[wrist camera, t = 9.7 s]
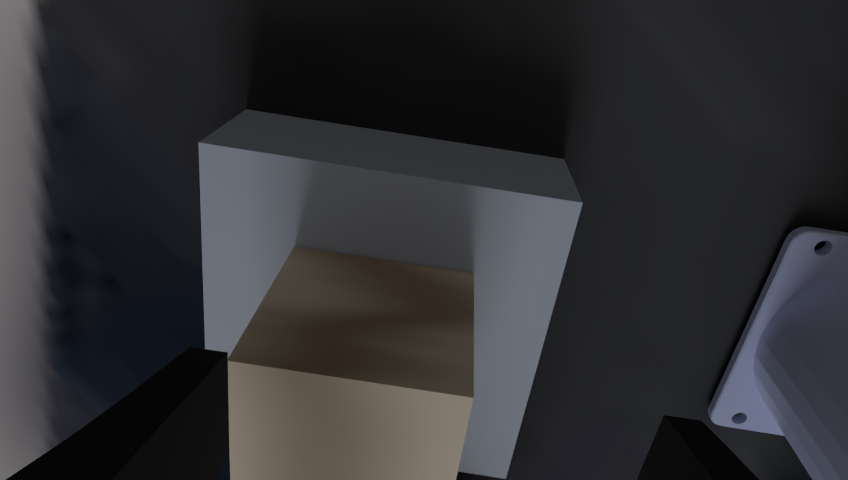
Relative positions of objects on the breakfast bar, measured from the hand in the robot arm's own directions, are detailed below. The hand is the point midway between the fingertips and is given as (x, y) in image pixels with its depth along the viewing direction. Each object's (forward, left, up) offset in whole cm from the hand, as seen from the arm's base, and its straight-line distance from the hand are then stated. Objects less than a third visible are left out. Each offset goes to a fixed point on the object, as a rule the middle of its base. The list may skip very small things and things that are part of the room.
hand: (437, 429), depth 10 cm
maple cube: (+2, +3, -7) cm, 8 cm away
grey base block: (+2, +3, -11) cm, 12 cm away
